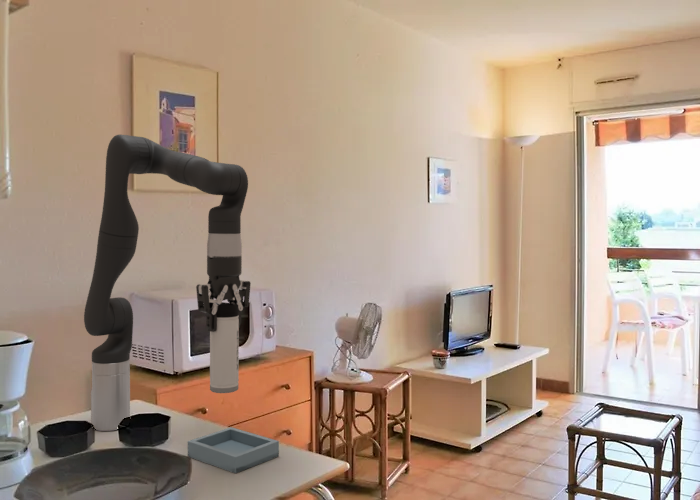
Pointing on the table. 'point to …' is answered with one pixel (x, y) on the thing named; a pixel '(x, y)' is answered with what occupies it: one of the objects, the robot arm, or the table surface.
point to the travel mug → (225, 350)
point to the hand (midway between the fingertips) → (224, 329)
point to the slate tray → (233, 449)
